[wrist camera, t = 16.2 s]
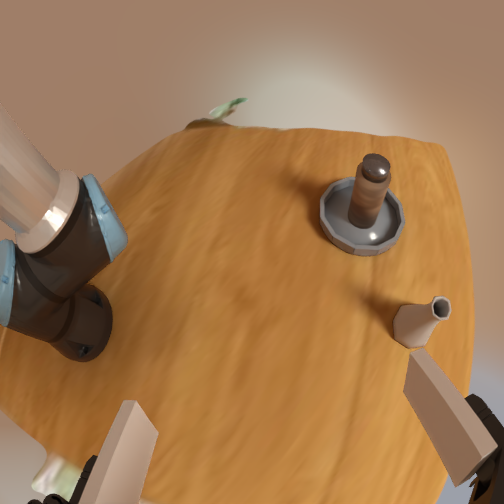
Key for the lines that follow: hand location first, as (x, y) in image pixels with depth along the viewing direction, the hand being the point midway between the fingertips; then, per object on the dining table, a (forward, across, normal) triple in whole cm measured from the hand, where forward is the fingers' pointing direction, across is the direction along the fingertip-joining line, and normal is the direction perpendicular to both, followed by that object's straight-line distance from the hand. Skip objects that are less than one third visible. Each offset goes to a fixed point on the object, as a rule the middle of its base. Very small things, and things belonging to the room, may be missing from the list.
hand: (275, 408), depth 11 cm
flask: (+22, +21, -16) cm, 34 cm away
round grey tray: (+36, +18, -1) cm, 41 cm away
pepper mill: (+36, +18, -1) cm, 40 cm away
